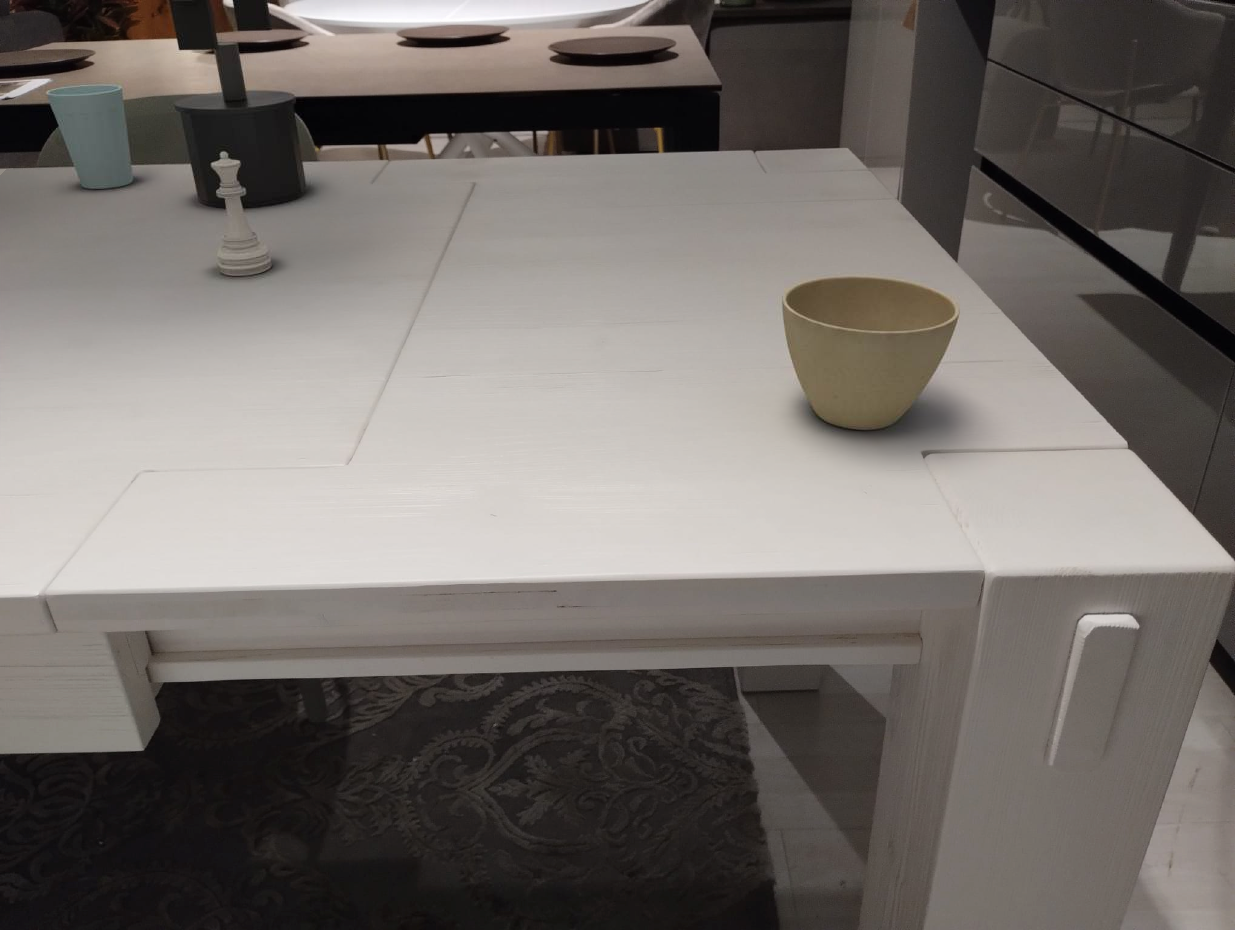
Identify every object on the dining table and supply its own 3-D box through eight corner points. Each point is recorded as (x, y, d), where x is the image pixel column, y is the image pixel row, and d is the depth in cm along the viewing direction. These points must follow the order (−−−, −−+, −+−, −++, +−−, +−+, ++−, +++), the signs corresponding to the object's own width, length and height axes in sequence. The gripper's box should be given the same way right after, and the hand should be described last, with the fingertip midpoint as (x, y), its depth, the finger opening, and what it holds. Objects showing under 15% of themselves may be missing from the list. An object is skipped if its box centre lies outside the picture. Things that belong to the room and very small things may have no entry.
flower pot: (946, 458, 57) (966, 338, 53) (767, 441, 59) (775, 325, 55) (938, 385, 65) (954, 278, 62) (781, 373, 67) (788, 269, 64)
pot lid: (158, 122, 103) (142, 51, 99) (200, 102, 113) (187, 37, 110) (278, 120, 103) (266, 49, 99) (309, 100, 113) (299, 36, 110)
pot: (182, 209, 107) (162, 115, 103) (218, 183, 117) (201, 97, 113) (290, 207, 107) (274, 113, 103) (317, 182, 117) (304, 95, 113)
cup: (58, 185, 118) (33, 90, 113) (123, 173, 123) (101, 82, 118) (89, 195, 113) (64, 97, 108) (154, 182, 118) (133, 88, 113)
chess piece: (240, 259, 91) (218, 145, 86) (282, 263, 90) (261, 147, 85) (208, 274, 88) (183, 155, 83) (252, 278, 86) (229, 158, 82)
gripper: (153, -324, 60) (224, 58, 70) (274, -262, 82) (315, 23, 92) (27, -323, 60) (116, 59, 70) (182, -261, 82) (232, 24, 92)
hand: (229, 39), depth 81 cm, fingers open, 13 cm apart
